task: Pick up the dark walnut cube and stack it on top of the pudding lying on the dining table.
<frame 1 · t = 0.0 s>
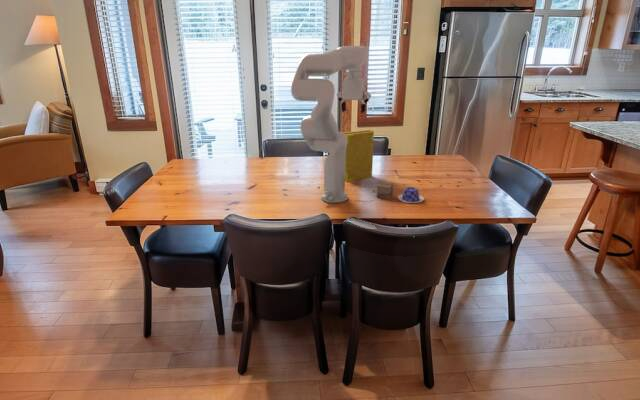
hand: (353, 111, 181), 37 cm above the table, tool pointing down, fingers open, 9 cm apart
pudding: (410, 199, 173), on the table
book: (357, 178, 203), on the table
walnut cube: (384, 196, 177), on the table
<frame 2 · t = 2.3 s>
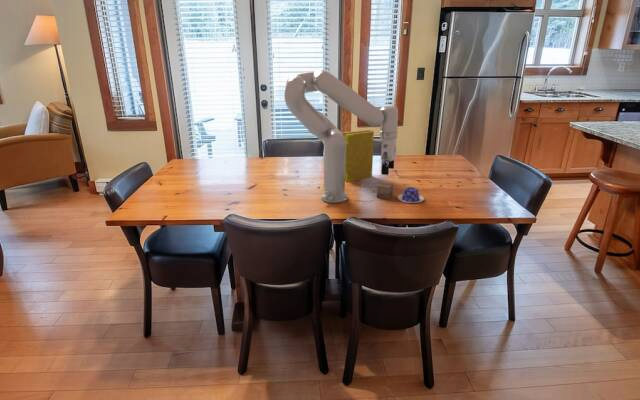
hand: (387, 171, 172), 12 cm above the table, tool pointing down, fingers open, 9 cm apart
nothing on the table moved.
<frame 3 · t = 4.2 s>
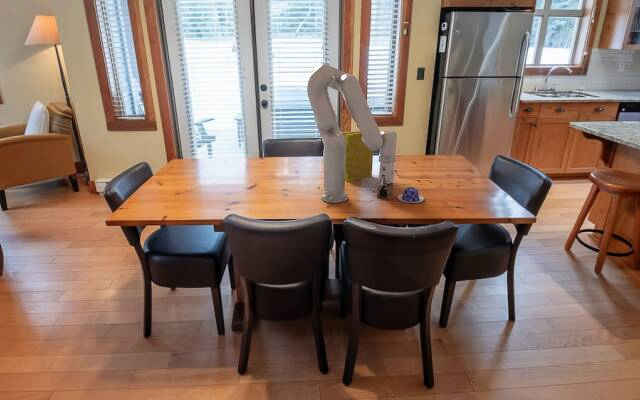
hand: (385, 194, 176), 1 cm above the table, tool pointing down, fingers closed on walnut cube, 6 cm apart
walnut cube: (384, 196, 177), on the table, touching gripper
everything else where it was.
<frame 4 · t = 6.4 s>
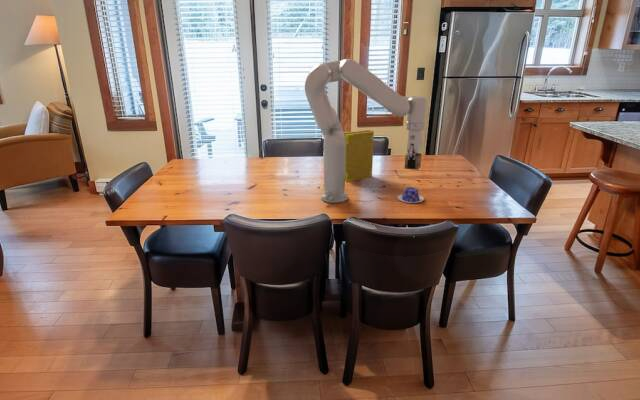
hand: (412, 165, 167), 16 cm above the table, tool pointing down, fingers closed on walnut cube, 6 cm apart
walnut cube: (412, 167, 167), point 15 cm above the table, touching gripper
everything else where it was.
when the fingers open (7 cm above the table, at t = 8.9 s): walnut cube drops 1 cm, resting on pudding.
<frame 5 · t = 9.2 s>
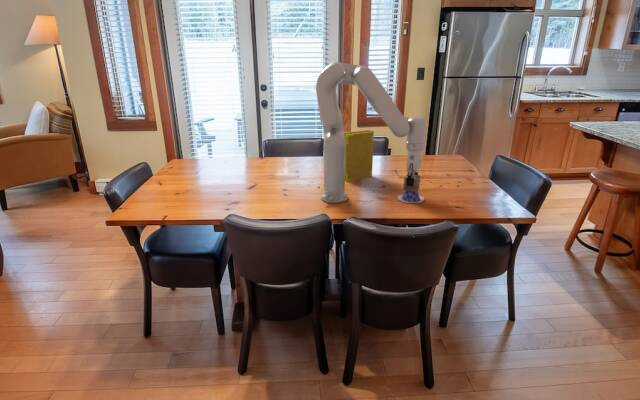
hand: (411, 182, 170), 8 cm above the table, tool pointing down, fingers open, 9 cm apart
pudding: (410, 200, 173), on the table, touching walnut cube
walnut cube: (411, 189, 171), point 5 cm above the table, touching pudding
everything else where it was.
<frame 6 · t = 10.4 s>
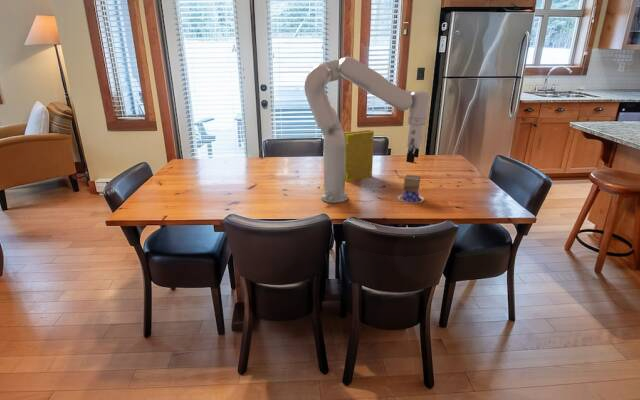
hand: (412, 159, 166), 19 cm above the table, tool pointing down, fingers open, 9 cm apart
nothing on the table moved.
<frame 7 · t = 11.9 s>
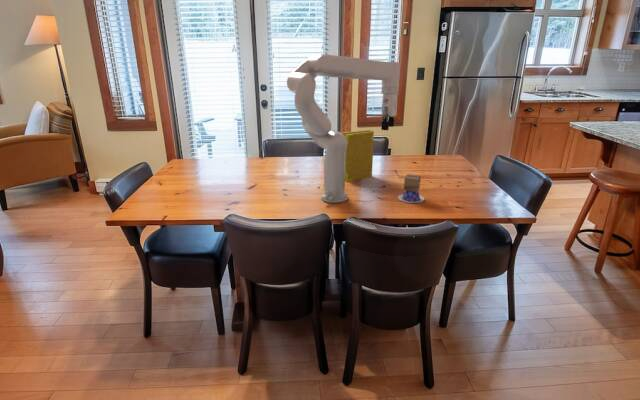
hand: (387, 128, 175), 30 cm above the table, tool pointing down, fingers open, 9 cm apart
nothing on the table moved.
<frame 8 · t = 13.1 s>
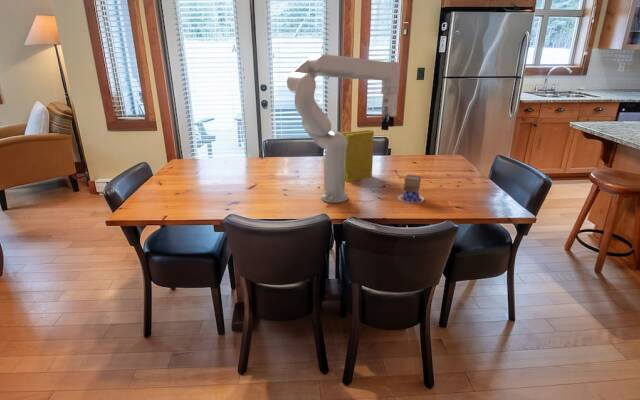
hand: (387, 128, 175), 30 cm above the table, tool pointing down, fingers open, 9 cm apart
pudding: (410, 200, 173), on the table
walnut cube: (411, 189, 171), point 5 cm above the table
everything else where it was.
at the end: walnut cube inside the target area on the pudding (0.1 cm from its centre), point 5.5 cm above the pudding's base; walnut cube tilted 0°; the gripper is holding nothing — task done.
